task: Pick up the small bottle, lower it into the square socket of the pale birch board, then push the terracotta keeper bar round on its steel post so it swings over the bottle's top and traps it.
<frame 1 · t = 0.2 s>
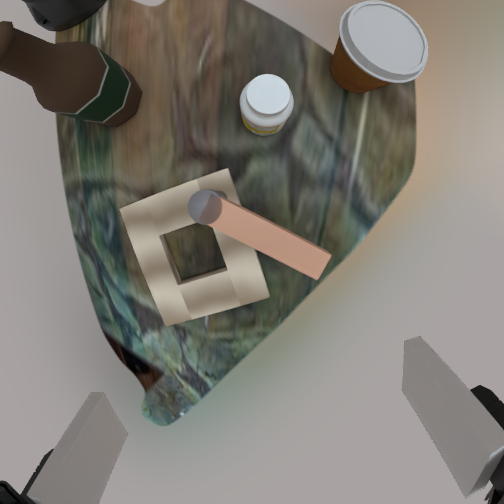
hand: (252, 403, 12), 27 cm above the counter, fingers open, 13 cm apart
keeper board: (195, 249, 38), on the counter
beer bottle: (117, 100, 34), on the counter
disposable coffee cup: (353, 71, 33), on the counter
supplement bottle: (264, 115, 35), on the counter
keeper bar: (258, 232, 26), point 12 cm above the counter, hinge at 90.0°
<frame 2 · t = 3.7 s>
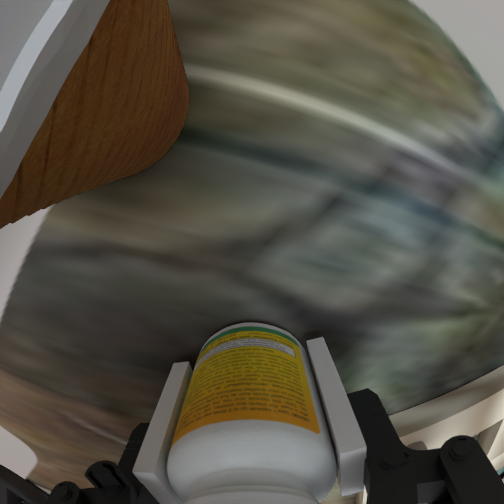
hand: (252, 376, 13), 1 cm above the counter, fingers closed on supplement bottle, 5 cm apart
keeper board: (450, 446, 16), on the counter
disposable coffee cup: (122, 108, 12), on the counter
supplement bottle: (252, 364, 14), on the counter, touching gripper
when the fingers open (3 cm above the counter, at t = 9.2 s): supplement bottle drops 2 cm, resting in keeper board.
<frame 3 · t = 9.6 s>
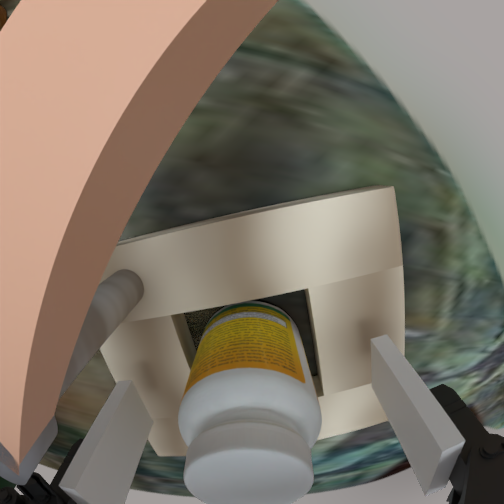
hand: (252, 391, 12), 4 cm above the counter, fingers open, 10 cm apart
keeper board: (252, 341, 17), on the counter
supplement bottle: (250, 339, 17), resting in keeper board
keeper bar: (14, 251, 3), point 12 cm above the counter, hinge at 90.0°
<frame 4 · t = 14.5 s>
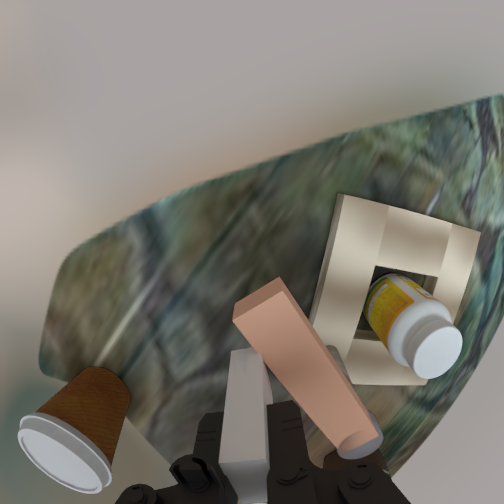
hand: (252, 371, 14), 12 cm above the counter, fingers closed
keeper board: (388, 299, 26), on the counter
beer bottle: (349, 457, 31), on the counter
disposable coffee cup: (105, 388, 29), on the counter
supplement bottle: (387, 299, 26), resting in keeper board
keeper bar: (323, 389, 14), point 12 cm above the counter, hinge at 88.4°, touching gripper
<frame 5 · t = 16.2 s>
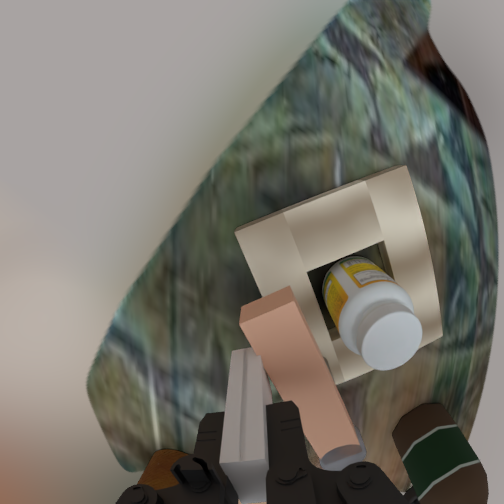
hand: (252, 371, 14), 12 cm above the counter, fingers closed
keeper board: (351, 284, 25), on the counter
beer bottle: (418, 422, 29), on the counter
disposable coffee cup: (176, 462, 32), on the counter
supplement bottle: (350, 285, 25), resting in keeper board
keeper bar: (316, 401, 14), point 12 cm above the counter, hinge at 48.2°, touching gripper
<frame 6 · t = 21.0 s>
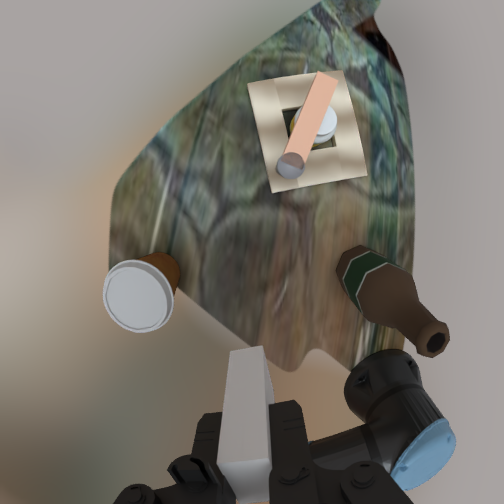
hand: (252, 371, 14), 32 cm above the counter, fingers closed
keeper board: (307, 129, 42), on the counter
beer bottle: (357, 268, 47), on the counter
disposable coffee cup: (160, 271, 47), on the counter
supplement bottle: (306, 130, 42), resting in keeper board
keeper bar: (307, 125, 31), point 12 cm above the counter, hinge at 10.8°
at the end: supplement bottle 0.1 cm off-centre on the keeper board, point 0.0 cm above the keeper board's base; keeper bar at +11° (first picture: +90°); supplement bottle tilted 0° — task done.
